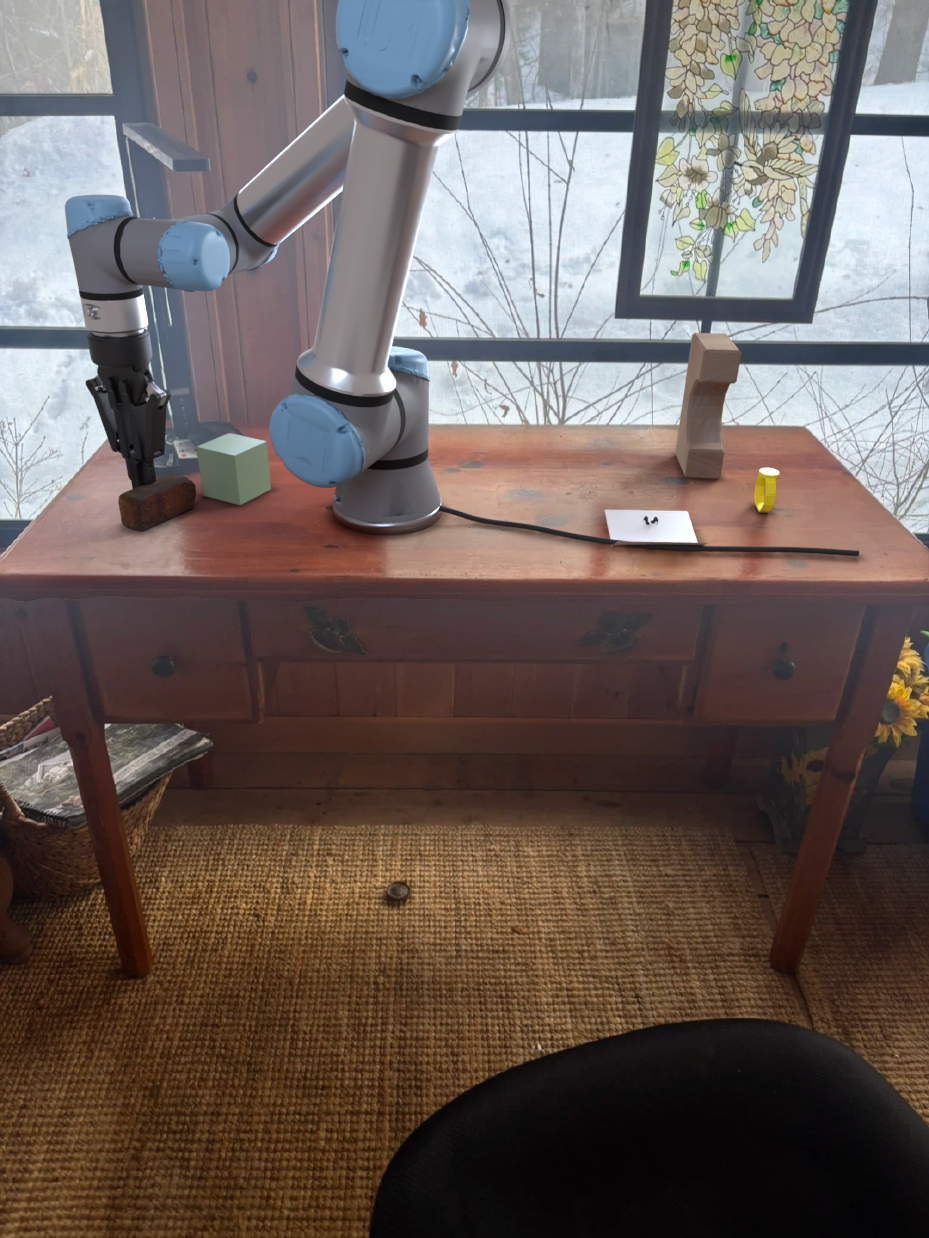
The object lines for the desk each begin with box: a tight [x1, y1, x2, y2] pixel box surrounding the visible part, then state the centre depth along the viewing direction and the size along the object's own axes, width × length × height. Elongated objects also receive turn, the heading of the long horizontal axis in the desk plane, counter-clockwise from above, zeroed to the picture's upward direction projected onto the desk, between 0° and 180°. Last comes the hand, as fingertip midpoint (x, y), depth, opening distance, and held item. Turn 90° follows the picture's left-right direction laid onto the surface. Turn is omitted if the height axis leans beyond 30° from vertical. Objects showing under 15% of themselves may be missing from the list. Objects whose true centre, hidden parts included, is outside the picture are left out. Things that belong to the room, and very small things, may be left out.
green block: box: [195, 432, 272, 506], centre depth 133 cm, size 7×7×8 cm
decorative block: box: [674, 332, 742, 480], centre depth 142 cm, size 11×6×20 cm, turn 176°
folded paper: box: [604, 509, 708, 547], centre depth 124 cm, size 12×12×2 cm
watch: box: [753, 467, 780, 514], centre depth 132 cm, size 6×3×6 cm, turn 177°
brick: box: [117, 473, 197, 532], centre depth 126 cm, size 11×4×5 cm, turn 152°
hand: (146, 503), depth 127 cm, fingers closed
